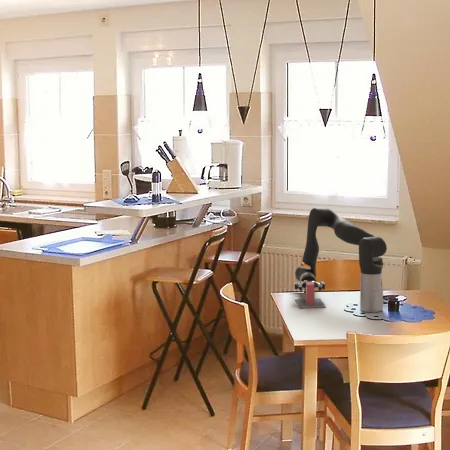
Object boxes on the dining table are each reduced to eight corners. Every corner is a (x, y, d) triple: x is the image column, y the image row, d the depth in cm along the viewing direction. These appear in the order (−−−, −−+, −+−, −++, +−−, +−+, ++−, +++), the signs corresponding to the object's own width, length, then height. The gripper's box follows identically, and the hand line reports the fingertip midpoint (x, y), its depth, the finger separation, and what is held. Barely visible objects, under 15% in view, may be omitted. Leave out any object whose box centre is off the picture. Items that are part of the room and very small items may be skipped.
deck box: (305, 301, 361) (305, 281, 359) (313, 301, 361) (313, 281, 359) (306, 304, 354) (306, 284, 353) (314, 304, 354) (314, 284, 353)
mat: (295, 300, 365) (295, 299, 365) (320, 299, 366) (320, 298, 366) (300, 308, 349) (300, 307, 349) (326, 307, 350) (326, 306, 350)
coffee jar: (360, 294, 374) (361, 257, 371) (364, 291, 381) (365, 254, 378) (380, 296, 370) (380, 258, 367) (384, 293, 377) (384, 256, 374)
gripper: (293, 273, 370) (295, 281, 354) (322, 273, 370) (326, 280, 354) (293, 288, 372) (295, 296, 355) (322, 288, 371) (326, 296, 355)
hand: (310, 288), depth 355 cm, fingers open, 8 cm apart
